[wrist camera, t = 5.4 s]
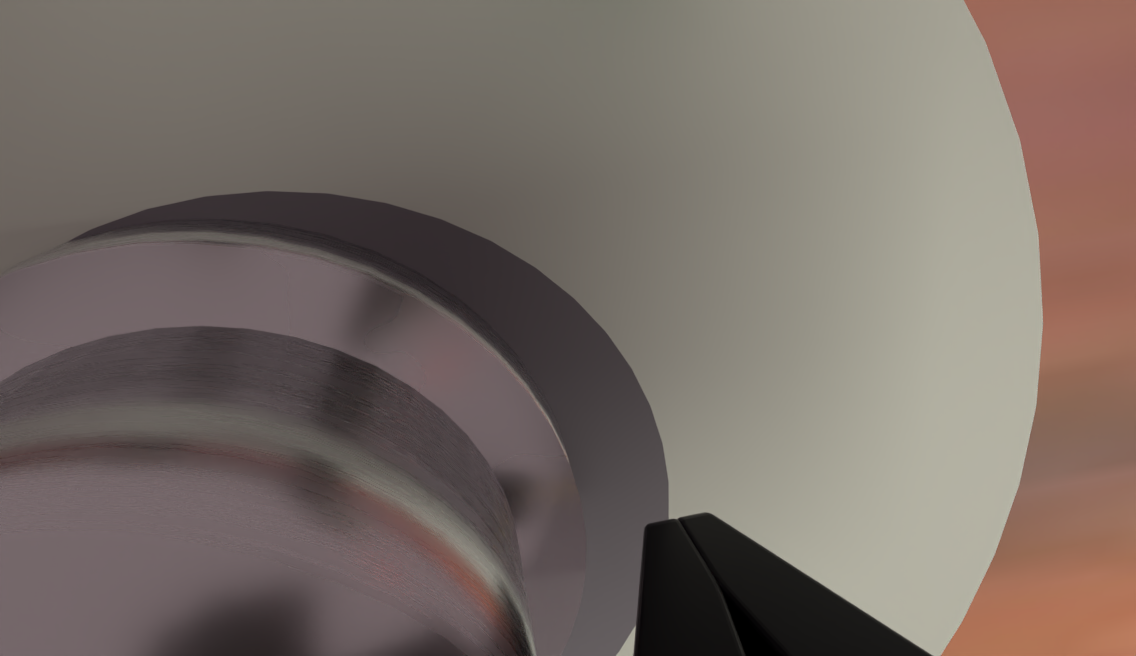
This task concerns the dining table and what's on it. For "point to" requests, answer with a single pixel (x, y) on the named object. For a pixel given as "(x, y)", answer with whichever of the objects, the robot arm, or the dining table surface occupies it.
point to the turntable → (620, 238)
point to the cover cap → (271, 456)
